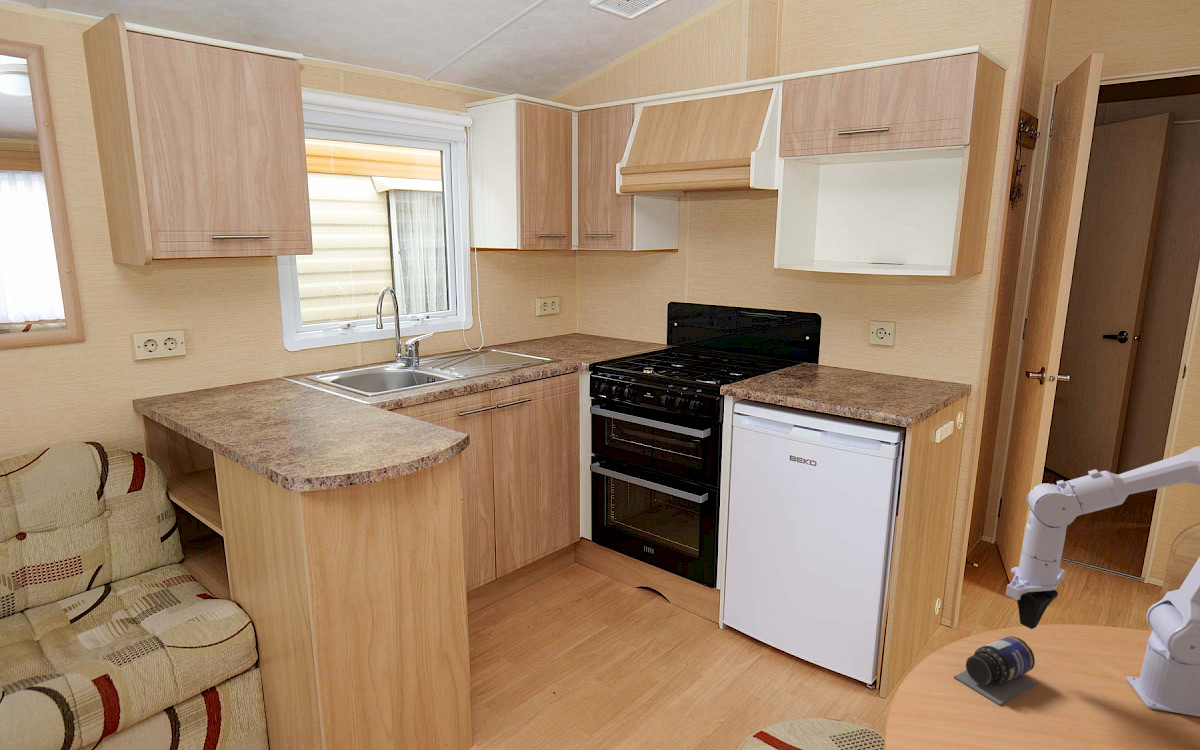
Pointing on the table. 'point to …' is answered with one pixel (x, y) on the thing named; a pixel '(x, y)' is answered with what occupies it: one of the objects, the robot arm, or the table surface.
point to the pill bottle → (1000, 661)
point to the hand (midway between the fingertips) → (1028, 625)
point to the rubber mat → (998, 687)
